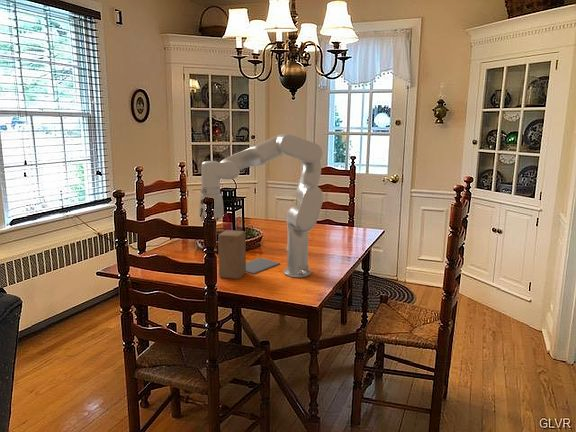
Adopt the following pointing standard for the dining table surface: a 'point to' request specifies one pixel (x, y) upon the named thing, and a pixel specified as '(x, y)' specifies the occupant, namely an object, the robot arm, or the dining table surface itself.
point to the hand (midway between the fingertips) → (211, 233)
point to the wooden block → (232, 254)
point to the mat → (259, 265)
